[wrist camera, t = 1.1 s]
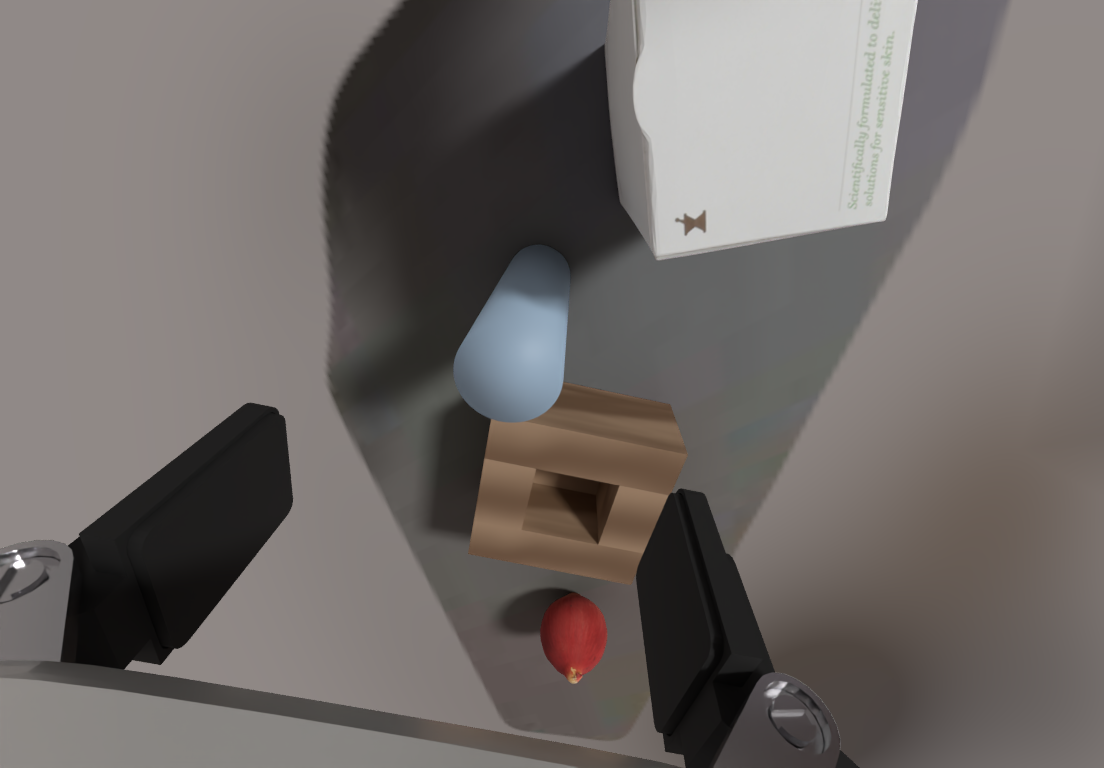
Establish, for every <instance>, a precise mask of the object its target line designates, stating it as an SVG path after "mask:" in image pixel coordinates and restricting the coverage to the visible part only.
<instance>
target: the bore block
mask: <svg viewBox="0 0 1104 768" xmlns="http://www.w3.org/2000/svg"><path fill="white" fill-rule="evenodd" d="M687 456H688V454H687V451H686V448H685V445H684V443H683V440H682V437H681V434H680V431H679V428H678V425H677V422H676V420H675V417H674V414H673V411H672V408H671V405H670V404H666V403H661V402H656V401H651V400H647V399H642V398H637V397H632V396H628V395H623V394H618V393H613V392H609V391H604V390H599V389H594V388H590V387H585V386H580V385H575V384H570V383H566V382H563V385H562V389H561V392H560V395H559V397H558V399H557V400H556V402H555V403H554V404H553V405H552V406H551V408H550V409H548V410H547V411H546V412H545V413H543V414H542V415H540V416H538V417H536V418H534V419H531V420H528V421H524V422H515V423H510V422H501V421H497V420H493V419H491V423H490V429H489V434H488V440H487V446H486V452H485V458H484V464H483V470H482V476H481V481H480V487H479V493H478V499H477V505H476V511H475V517H474V523H473V528H472V534H471V540H470V546H469V552H468V554H471V555H476V556H482V557H487V558H492V559H497V560H503V561H508V562H513V563H519V564H524V565H529V566H534V567H540V568H545V569H550V570H555V571H561V572H566V573H571V574H576V575H582V576H587V577H592V578H598V579H603V580H608V581H613V582H619V583H624V584H629V585H631V584H632V581H633V579H634V577H635V575H636V572H637V568H638V564H639V562H640V560H641V557H642V555H643V553H644V551H645V548H646V546H647V544H648V541H649V539H650V537H651V534H652V532H653V530H654V528H655V525H656V523H657V521H658V518H659V516H660V514H661V511H662V509H663V507H664V505H665V502H666V500H667V498H668V496H669V494H670V493H671V492H672V490H673V488H674V485H675V483H676V481H677V478H678V476H679V474H680V472H681V469H682V467H683V465H684V462H685V460H686V458H687Z"/></svg>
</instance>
